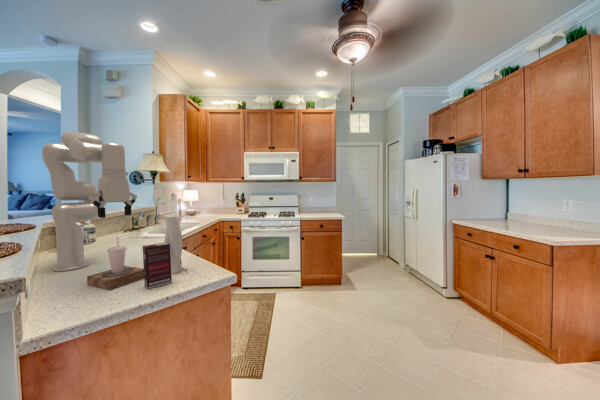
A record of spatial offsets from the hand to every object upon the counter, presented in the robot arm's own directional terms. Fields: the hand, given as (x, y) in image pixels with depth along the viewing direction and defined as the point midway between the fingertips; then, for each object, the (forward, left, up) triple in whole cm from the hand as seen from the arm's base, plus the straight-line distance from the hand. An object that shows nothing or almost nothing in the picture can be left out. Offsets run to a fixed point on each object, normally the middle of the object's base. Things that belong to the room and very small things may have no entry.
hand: (115, 216), depth 98 cm
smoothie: (+1, -1, -23) cm, 23 cm away
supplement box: (+20, +2, -27) cm, 34 cm away
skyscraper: (+13, +16, -27) cm, 34 cm away
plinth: (+1, -1, -27) cm, 27 cm away
